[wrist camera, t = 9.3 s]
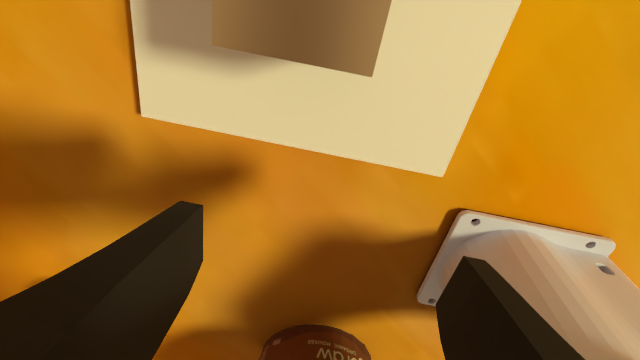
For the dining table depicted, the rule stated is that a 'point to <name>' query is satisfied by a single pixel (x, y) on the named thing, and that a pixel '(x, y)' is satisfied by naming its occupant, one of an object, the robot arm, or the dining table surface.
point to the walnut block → (304, 30)
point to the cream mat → (327, 82)
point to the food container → (314, 345)
